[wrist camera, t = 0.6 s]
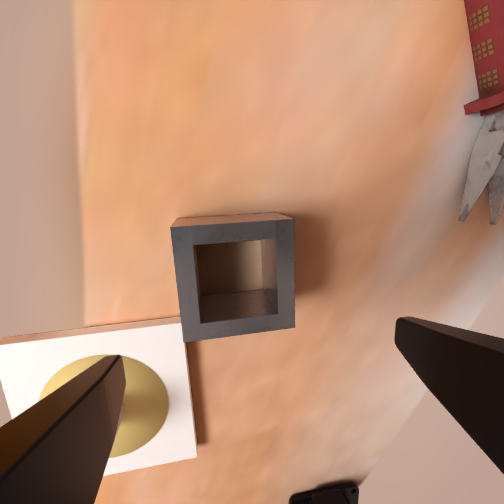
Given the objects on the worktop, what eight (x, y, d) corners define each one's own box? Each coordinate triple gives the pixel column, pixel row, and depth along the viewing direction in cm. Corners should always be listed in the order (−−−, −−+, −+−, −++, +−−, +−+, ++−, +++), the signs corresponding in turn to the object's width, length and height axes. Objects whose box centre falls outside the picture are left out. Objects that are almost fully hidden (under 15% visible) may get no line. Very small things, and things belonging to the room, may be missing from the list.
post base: (197, 445, 22) (196, 527, 16) (41, 475, 20) (-16, 579, 15) (182, 315, 19) (176, 365, 14) (2, 337, 17) (-85, 403, 12)
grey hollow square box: (277, 300, 20) (294, 327, 16) (186, 311, 19) (183, 342, 15) (274, 212, 19) (294, 218, 15) (176, 218, 18) (170, 227, 14)
